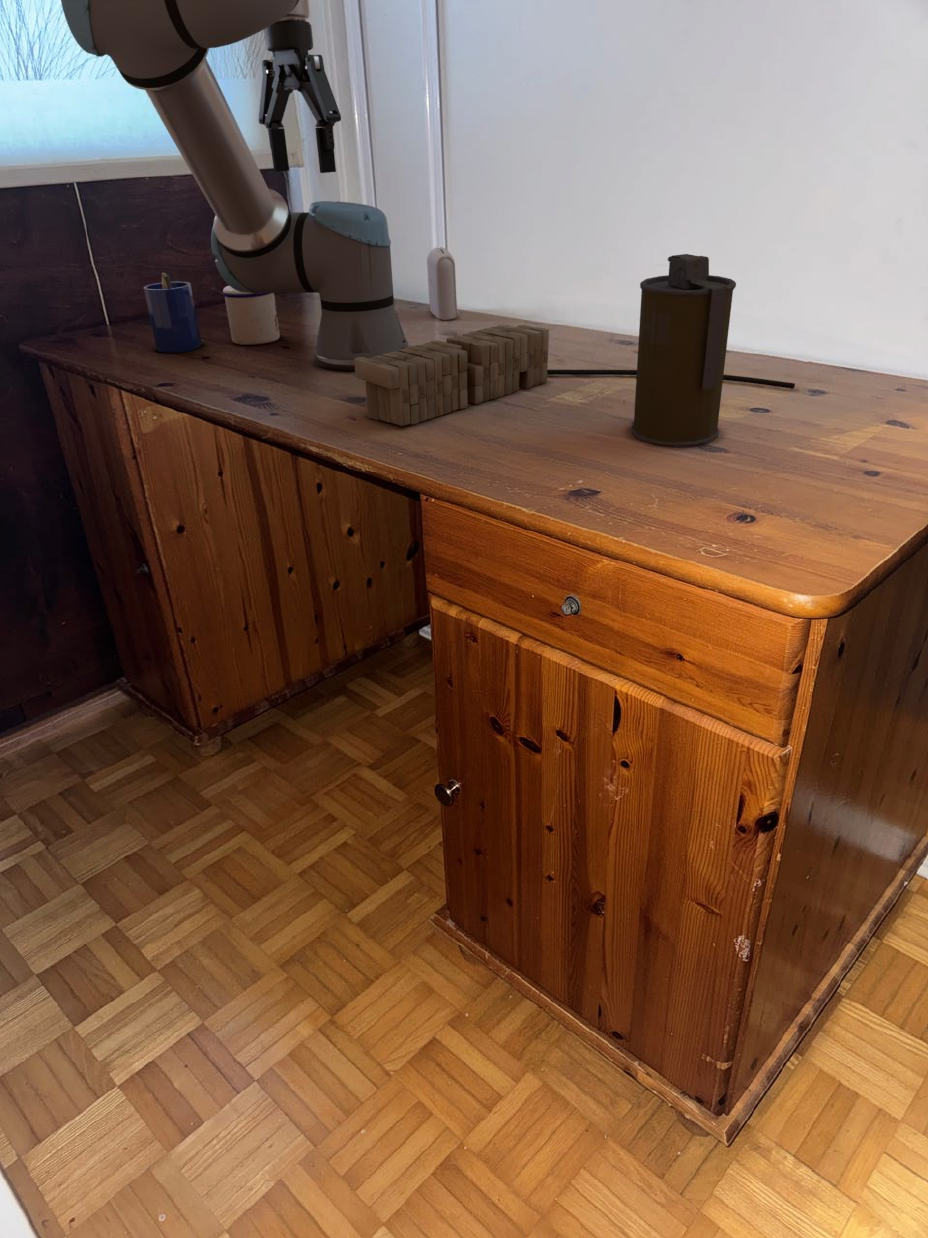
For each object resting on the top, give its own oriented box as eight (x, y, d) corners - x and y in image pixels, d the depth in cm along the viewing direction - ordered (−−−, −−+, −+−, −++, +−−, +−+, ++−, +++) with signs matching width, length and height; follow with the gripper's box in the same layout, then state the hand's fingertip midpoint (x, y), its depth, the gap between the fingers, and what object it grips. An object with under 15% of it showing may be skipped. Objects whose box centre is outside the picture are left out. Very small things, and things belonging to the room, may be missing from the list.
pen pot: (209, 346, 156) (198, 284, 150) (169, 354, 151) (156, 291, 146) (188, 340, 161) (176, 280, 155) (149, 348, 156) (135, 286, 151)
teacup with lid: (290, 339, 158) (281, 271, 152) (244, 348, 153) (232, 278, 147) (260, 329, 166) (251, 264, 160) (216, 337, 162) (204, 270, 156)
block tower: (510, 379, 133) (356, 418, 115) (510, 322, 128) (351, 353, 111) (548, 388, 127) (393, 431, 110) (550, 328, 123) (390, 363, 106)
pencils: (190, 343, 156) (177, 272, 150) (173, 346, 154) (159, 275, 148) (184, 341, 158) (170, 271, 152) (166, 344, 156) (152, 274, 150)
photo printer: (427, 311, 175) (423, 245, 169) (448, 309, 176) (445, 243, 170) (437, 321, 167) (434, 252, 160) (459, 319, 167) (456, 250, 161)
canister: (614, 428, 108) (623, 255, 98) (684, 414, 112) (699, 247, 102) (666, 454, 100) (681, 268, 90) (739, 438, 103) (762, 258, 93)
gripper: (354, 13, 132) (367, 171, 143) (263, 28, 148) (281, 168, 158) (313, 12, 127) (330, 174, 138) (224, 27, 143) (245, 171, 154)
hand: (304, 171), depth 148 cm, fingers open, 13 cm apart
